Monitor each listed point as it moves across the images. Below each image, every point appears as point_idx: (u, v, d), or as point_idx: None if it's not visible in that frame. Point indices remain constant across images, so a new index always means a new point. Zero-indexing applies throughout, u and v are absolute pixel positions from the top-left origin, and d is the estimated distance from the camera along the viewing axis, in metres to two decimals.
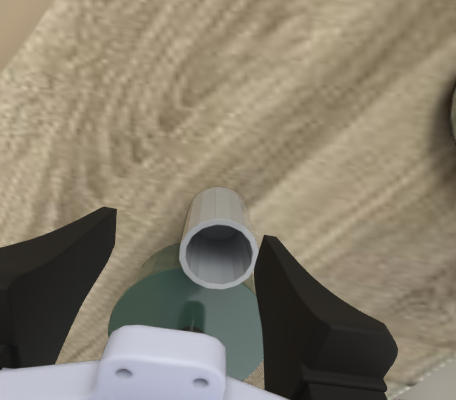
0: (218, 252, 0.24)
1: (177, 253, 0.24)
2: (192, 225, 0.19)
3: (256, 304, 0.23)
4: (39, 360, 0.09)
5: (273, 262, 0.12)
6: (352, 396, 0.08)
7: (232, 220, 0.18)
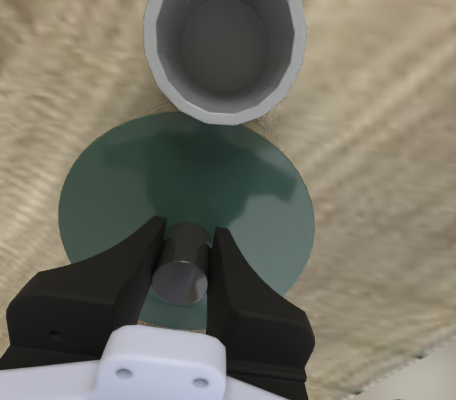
0: (226, 97, 0.14)
1: (160, 107, 0.15)
2: None
3: (292, 180, 0.14)
4: None
5: (217, 253, 0.12)
6: (268, 386, 0.08)
7: None
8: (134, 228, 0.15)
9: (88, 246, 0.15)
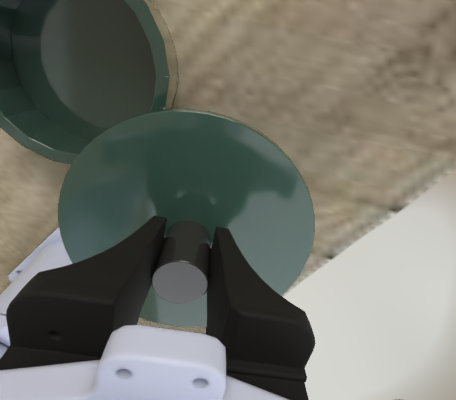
0: None
1: None
2: None
3: (292, 180, 0.14)
4: None
5: (217, 253, 0.12)
6: (268, 386, 0.08)
7: None
8: (134, 227, 0.15)
9: (88, 245, 0.15)
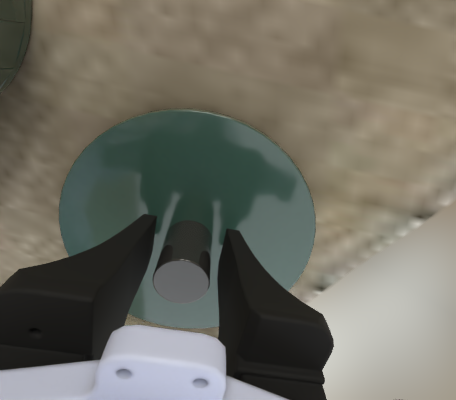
0: None
1: None
2: None
3: (293, 179, 0.14)
4: None
5: (230, 255, 0.12)
6: (287, 388, 0.08)
7: None
8: None
9: (89, 245, 0.15)
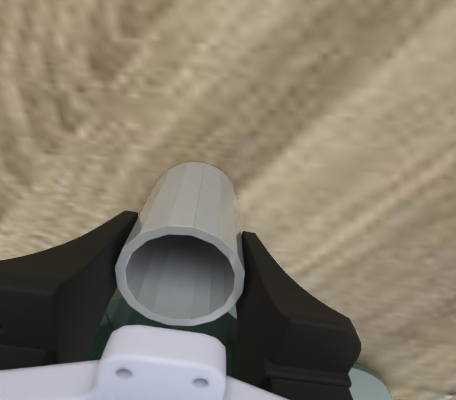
0: (194, 257, 0.16)
1: None
2: (132, 235, 0.11)
3: (382, 389, 0.25)
4: None
5: (248, 258, 0.12)
6: (315, 391, 0.08)
7: (195, 226, 0.11)
8: None
9: None
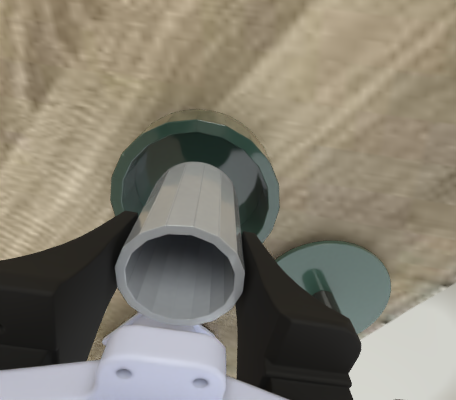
0: (194, 257, 0.16)
1: (172, 116, 0.20)
2: (132, 235, 0.11)
3: (382, 272, 0.27)
4: None
5: (248, 258, 0.12)
6: (315, 391, 0.08)
7: (195, 225, 0.11)
8: None
9: None
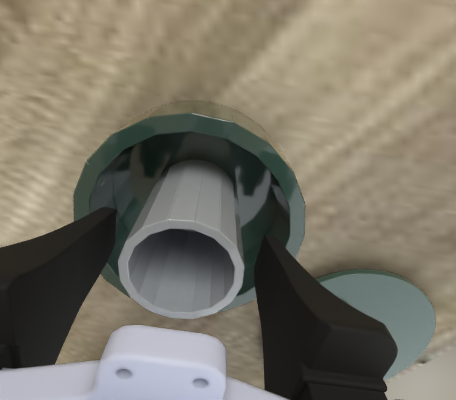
0: (195, 253, 0.17)
1: (158, 109, 0.14)
2: (134, 230, 0.12)
3: (426, 307, 0.22)
4: (39, 360, 0.09)
5: (273, 262, 0.12)
6: (352, 396, 0.08)
7: (196, 220, 0.11)
8: None
9: None
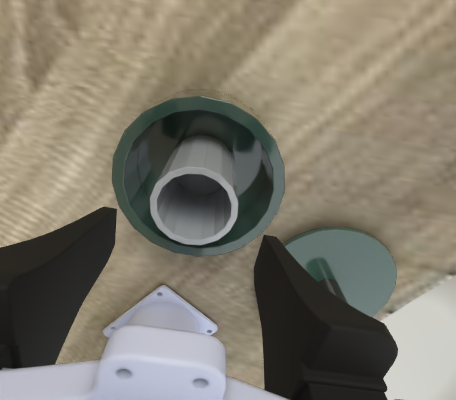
0: (202, 206, 0.22)
1: (175, 94, 0.19)
2: (161, 176, 0.17)
3: (388, 259, 0.27)
4: (39, 360, 0.09)
5: (273, 262, 0.12)
6: (352, 396, 0.08)
7: (205, 167, 0.16)
8: None
9: None
